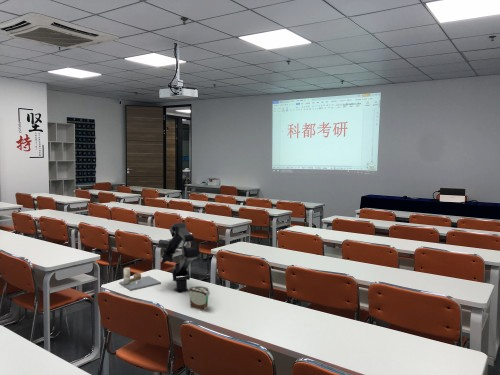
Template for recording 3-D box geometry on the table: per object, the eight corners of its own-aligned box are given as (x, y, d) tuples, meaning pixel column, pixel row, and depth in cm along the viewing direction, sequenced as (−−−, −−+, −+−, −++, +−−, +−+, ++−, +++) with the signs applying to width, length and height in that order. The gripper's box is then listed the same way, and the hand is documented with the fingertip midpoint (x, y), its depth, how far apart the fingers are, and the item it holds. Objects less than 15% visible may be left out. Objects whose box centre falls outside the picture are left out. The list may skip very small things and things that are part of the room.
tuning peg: (136, 277, 238) (136, 263, 238) (142, 278, 236) (142, 264, 236) (121, 283, 226) (121, 268, 226) (127, 284, 225) (127, 269, 224)
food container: (214, 307, 196) (214, 288, 195) (207, 312, 191) (207, 292, 190) (196, 302, 202) (196, 284, 201) (188, 306, 197) (188, 287, 196)
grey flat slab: (160, 283, 231) (160, 282, 231) (130, 290, 219) (130, 289, 218) (148, 277, 243) (148, 275, 243) (119, 283, 231) (119, 281, 231)
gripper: (165, 229, 232) (152, 250, 235) (161, 241, 214) (147, 263, 217) (181, 238, 235) (168, 258, 237) (178, 250, 217) (164, 272, 219)
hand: (162, 262), depth 228 cm, fingers closed
